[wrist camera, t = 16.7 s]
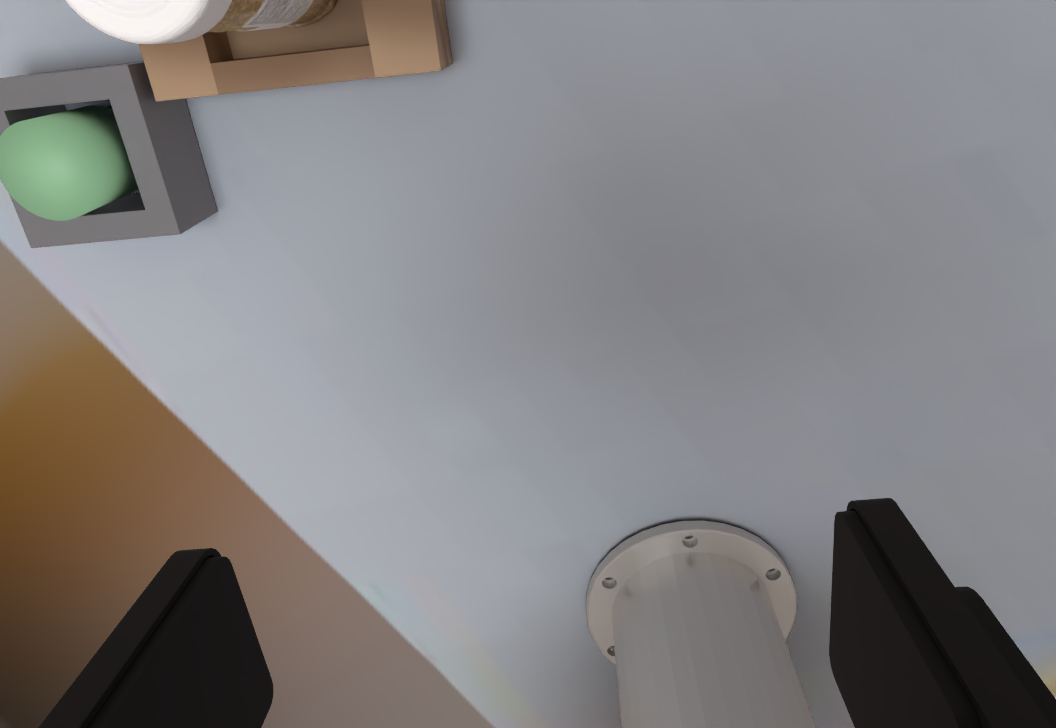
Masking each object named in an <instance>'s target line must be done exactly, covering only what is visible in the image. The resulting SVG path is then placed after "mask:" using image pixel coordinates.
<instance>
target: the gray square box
mask: <svg viewBox="0 0 1056 728" xmlns="http://www.w3.org/2000/svg"><path fill="white" fill-rule="evenodd" d="M108 99H109V100H110V103H111V106H112V109H113V112H114V115H115V118H116V121H117V124H118V127H119V130H120V133H121V136H122V139H123V143H124V146H125V149H126V152H127V155H128V158H129V161H130V164H131V167H132V170H133V173H134V176H135V179H136V182H137V185H138V188H139V191H140V194H133V195H126V196H124V197H121V198H119V199H117V200H115V201H113V202H110V203H108V204H106V205H104V206H101V207H99V208H97V209H95V210H92V211H90V212H88V213H86V214H84V215H81V216H79V217H77V218H74V219H71V220H66V221H55V220H49V219H45V218H42V217H39V216H37V215H35V214H33V213H31V212H29V211H28V210H26V209H25V208H24V207H22V206H21V205H20V204H19V203H18V202H16V201H15V200H14V198H13V197H12V196H11V195H10V197H11V199H12V202H13V204H14V207H15V209H16V212H17V214H18V217H19V219H20V222H21V224H22V227H23V229H24V232H25V234H26V237H27V239H28V241H29V244H30V246H31V248H38V247H49V246H59V245H70V244H81V243H91V242H102V241H113V240H123V239H134V238H145V237H155V236H166V235H177V234H181V233H183V232H185V231H186V230H188V229H189V228H191V227H193V226H194V225H196V224H198V223H199V222H201V221H203V220H204V219H206V218H207V217H209V216H211V215H212V214H214V213H216V212H217V208H216V204H215V201H214V197H213V194H212V190H211V187H210V183H209V180H208V176H207V173H206V169H205V166H204V162H203V159H202V155H201V152H200V148H199V145H198V141H197V138H196V134H195V131H194V127H193V124H192V120H191V117H190V113H189V110H188V106H187V103H186V99H185V98H184V99H174V100H165V101H156V100H155V97H154V93H153V90H152V87H151V83H150V80H149V77H148V73H147V70H146V67H145V64H144V61H143V62H134V63H126V64H117V65H108V66H99V67H90V68H81V69H73V70H64V71H55V72H46V73H37V74H29V75H21V76H14V77H7V78H0V136H1V134H2V133H3V132H4V131H5V130H6V129H7V128H8V127H9V126H11V125H12V124H14V123H17V122H19V121H23V120H28V119H32V118H37V117H41V116H46V115H50V114H55V113H59V112H64V111H66V110H65V107H64V104H71V103H81V102H90V101H99V100H108Z"/></svg>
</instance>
